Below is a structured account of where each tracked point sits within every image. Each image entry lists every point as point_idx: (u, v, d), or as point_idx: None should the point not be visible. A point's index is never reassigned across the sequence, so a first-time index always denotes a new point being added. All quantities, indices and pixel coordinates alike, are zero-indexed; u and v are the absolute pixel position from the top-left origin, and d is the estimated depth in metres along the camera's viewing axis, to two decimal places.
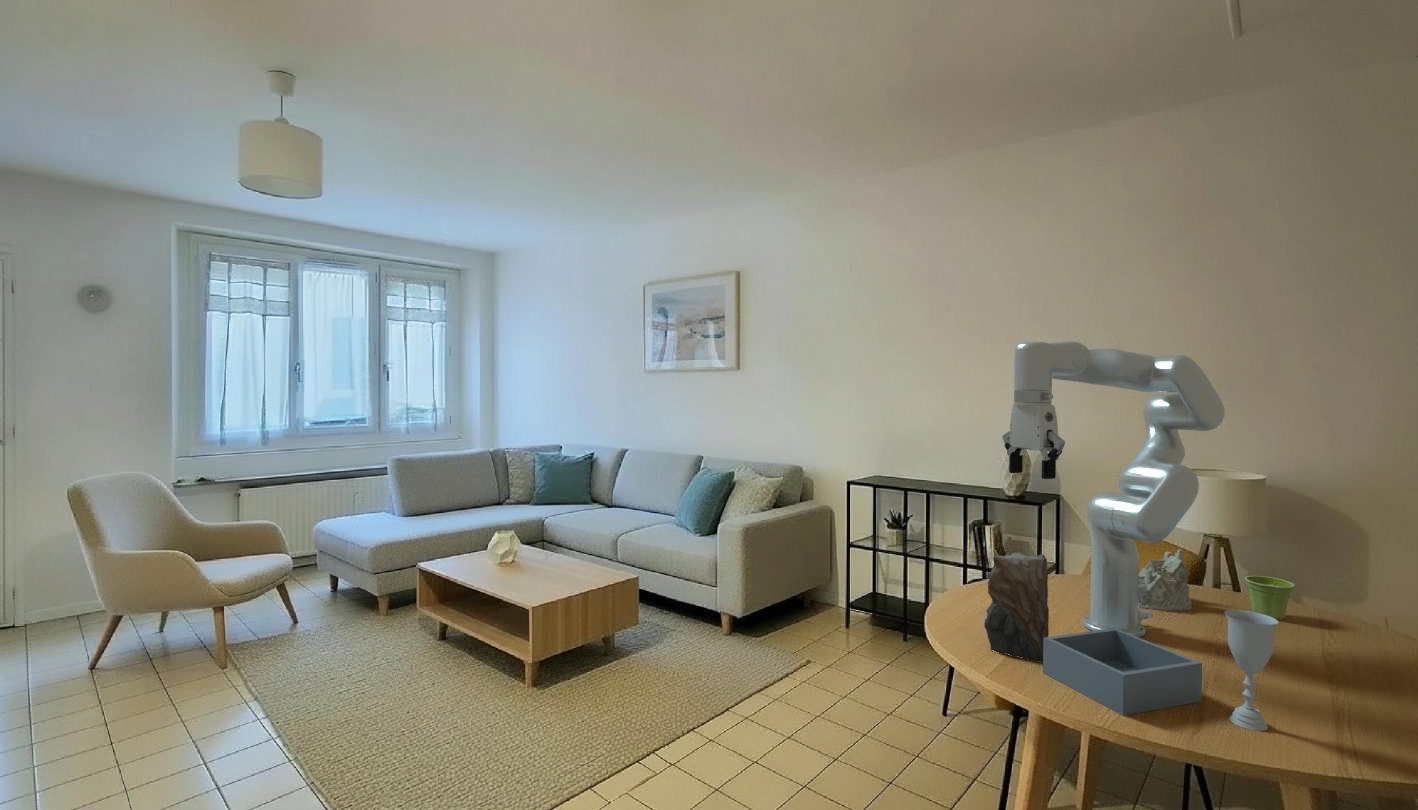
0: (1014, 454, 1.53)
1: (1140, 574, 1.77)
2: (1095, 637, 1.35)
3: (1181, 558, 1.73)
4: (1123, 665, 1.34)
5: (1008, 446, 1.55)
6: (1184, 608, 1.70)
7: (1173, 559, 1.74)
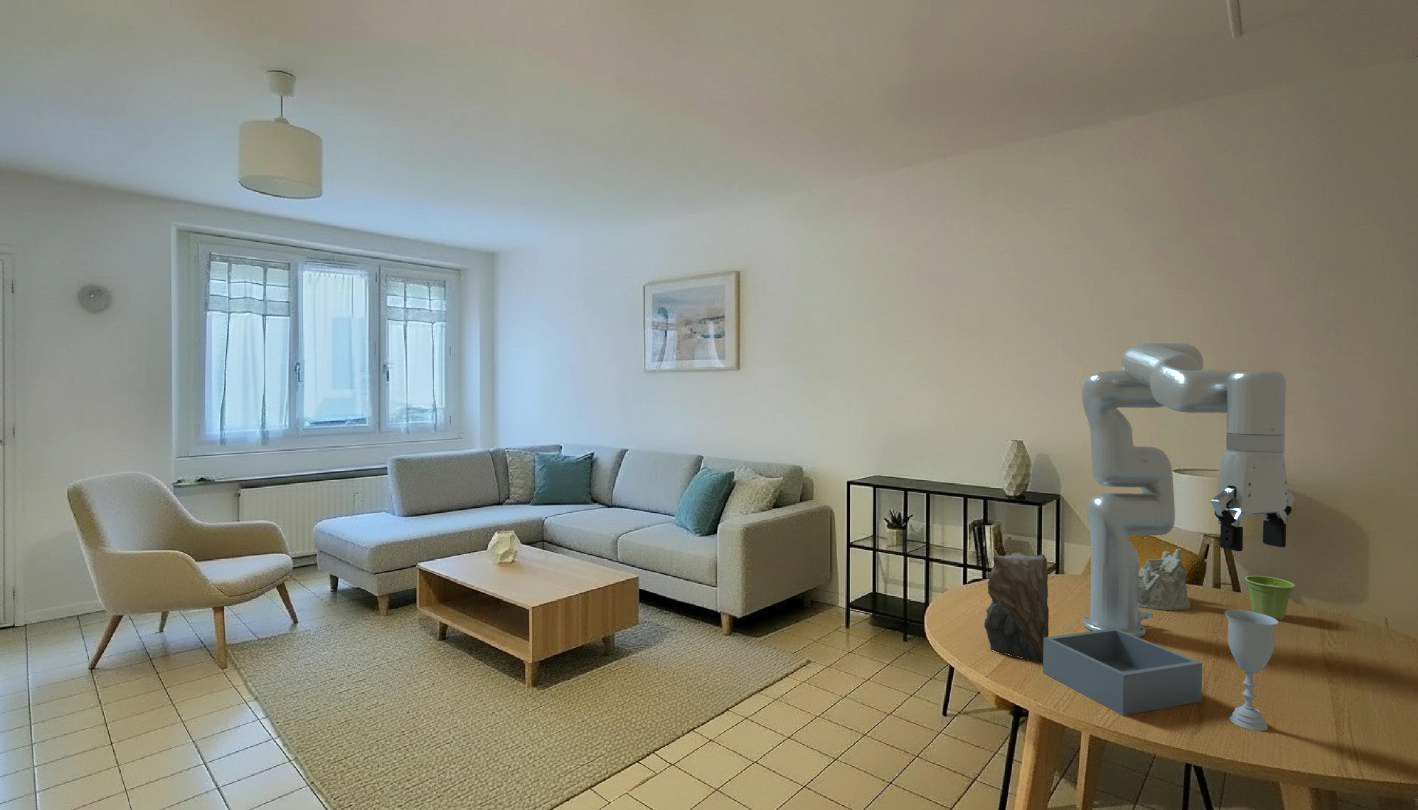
0: None
1: None
2: (1095, 637, 1.35)
3: (1179, 557, 1.73)
4: (1123, 665, 1.34)
5: (1229, 514, 1.09)
6: (1182, 607, 1.70)
7: (1171, 558, 1.75)
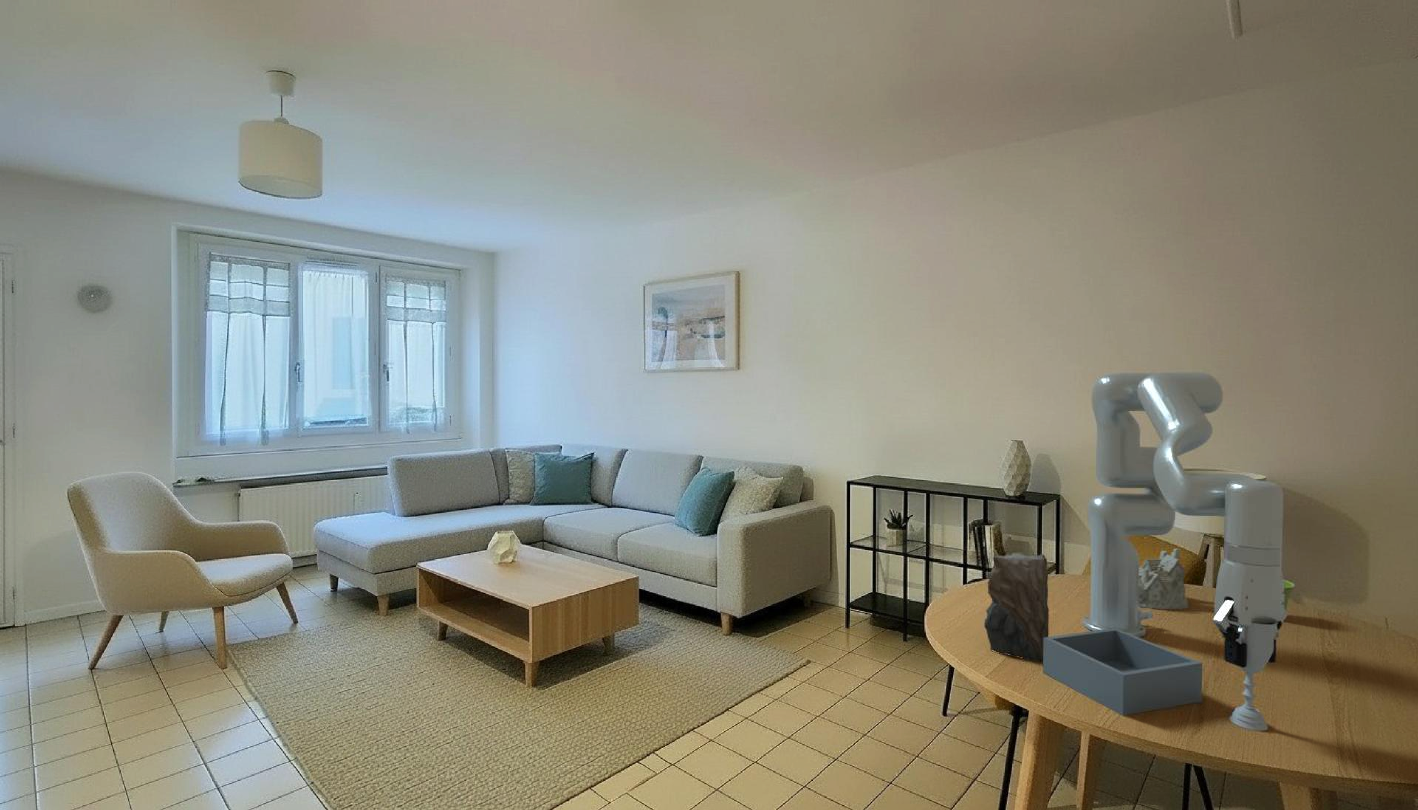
0: None
1: None
2: (1095, 637, 1.35)
3: (1177, 557, 1.74)
4: (1123, 665, 1.34)
5: (1234, 630, 1.10)
6: (1180, 607, 1.71)
7: (1169, 558, 1.75)
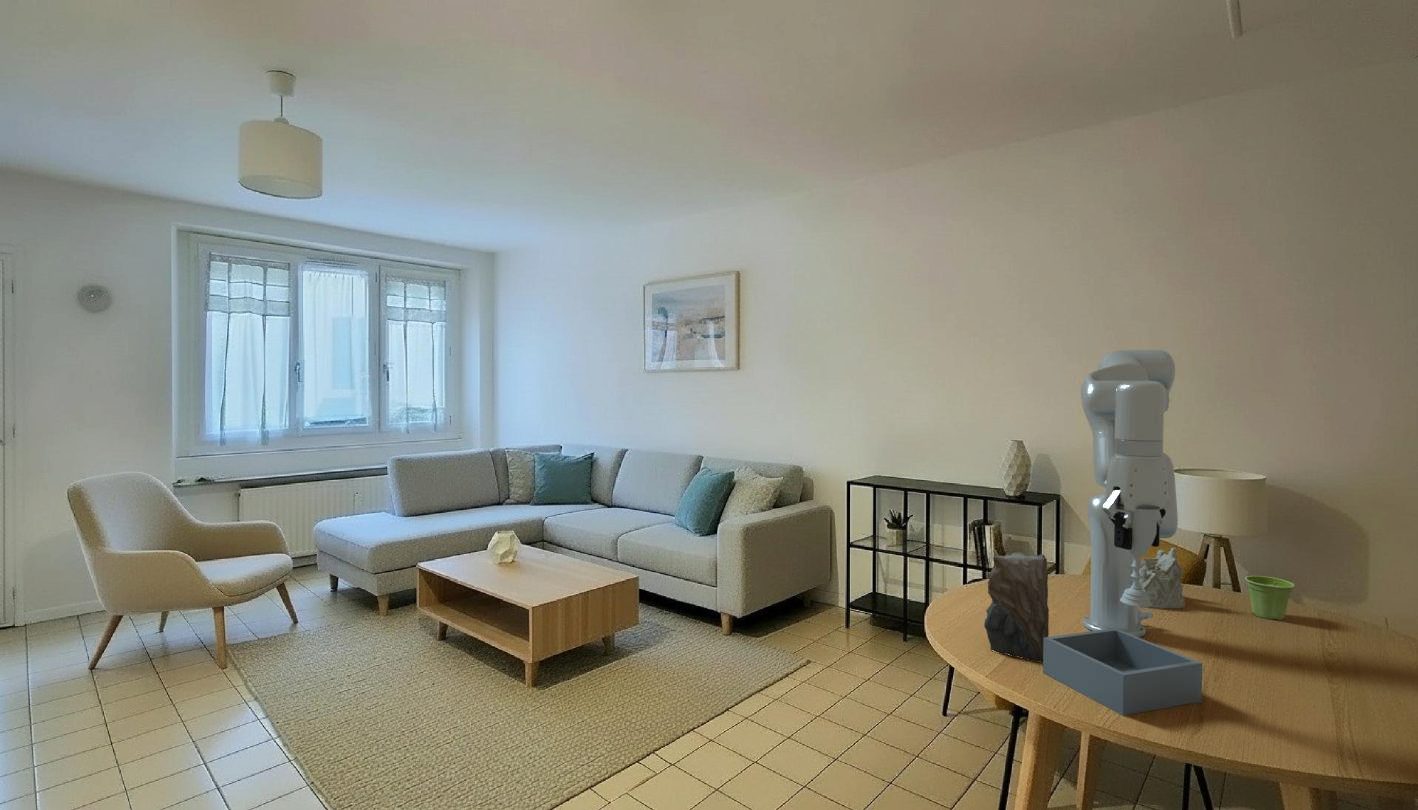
0: None
1: None
2: (1095, 637, 1.35)
3: (1175, 556, 1.74)
4: (1123, 665, 1.34)
5: (1121, 516, 1.22)
6: (1178, 606, 1.72)
7: (1167, 557, 1.76)
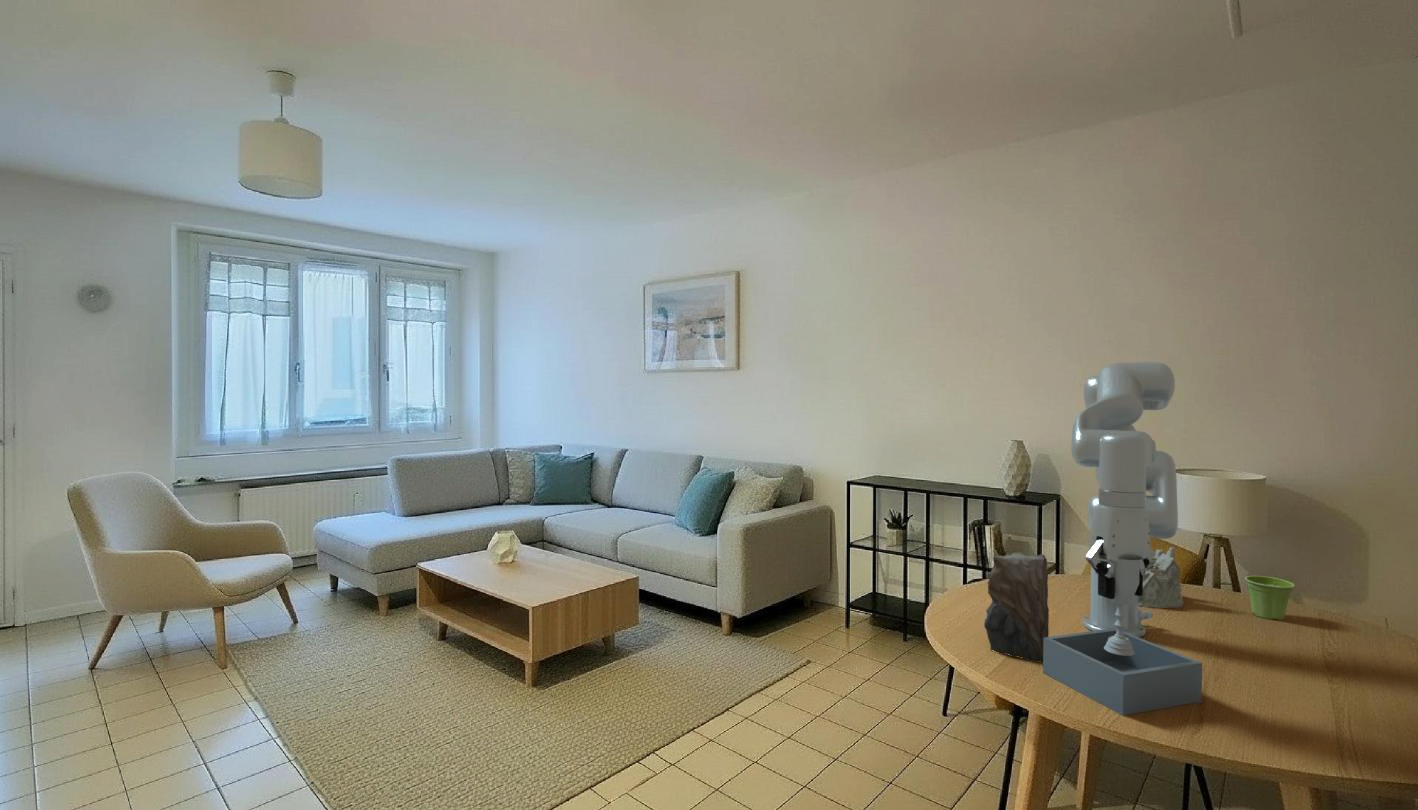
0: None
1: None
2: (1095, 637, 1.35)
3: (1173, 556, 1.75)
4: (1123, 665, 1.34)
5: (1103, 565, 1.24)
6: (1176, 605, 1.72)
7: (1165, 557, 1.76)
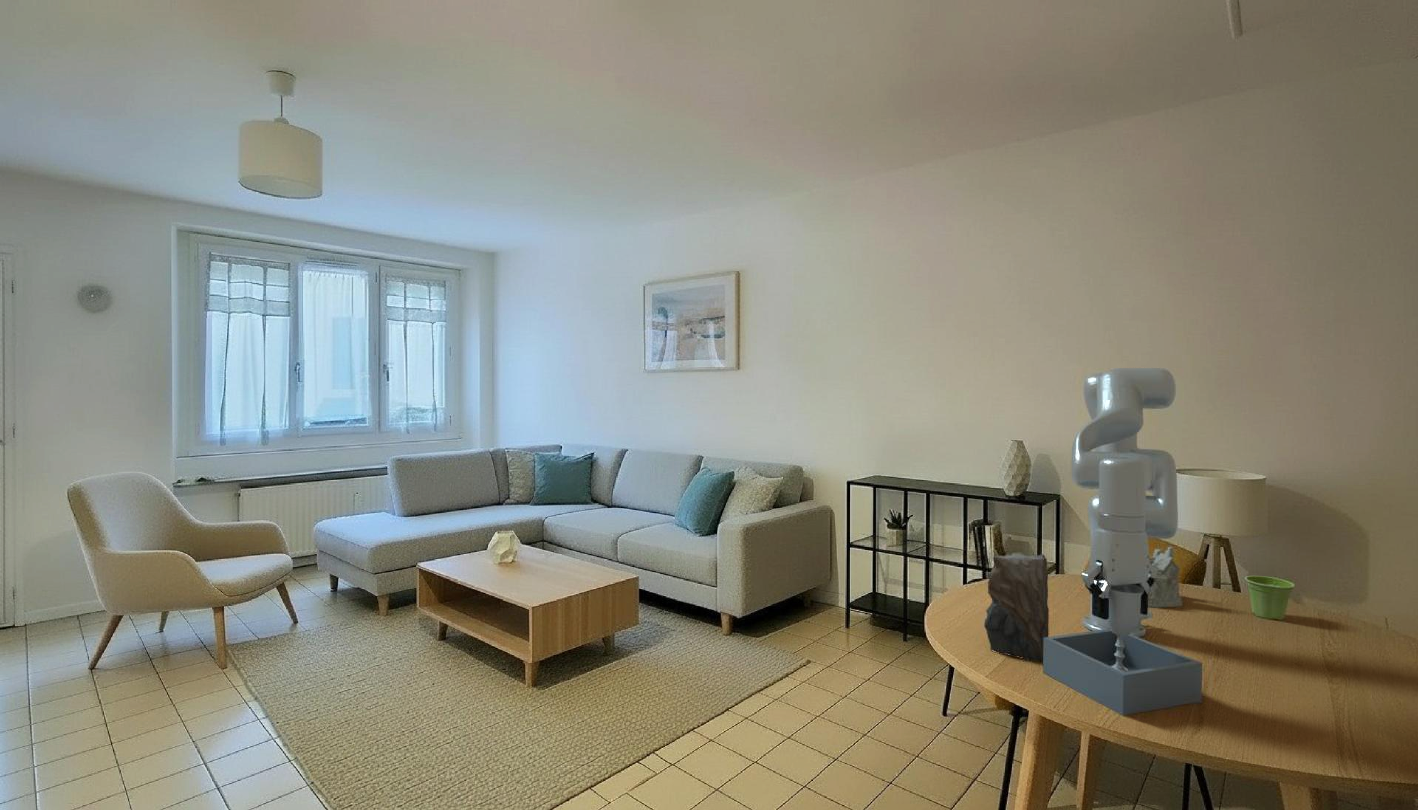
0: None
1: None
2: (1095, 637, 1.35)
3: (1171, 555, 1.75)
4: (1123, 665, 1.34)
5: (1097, 587, 1.24)
6: (1175, 605, 1.72)
7: (1163, 556, 1.77)
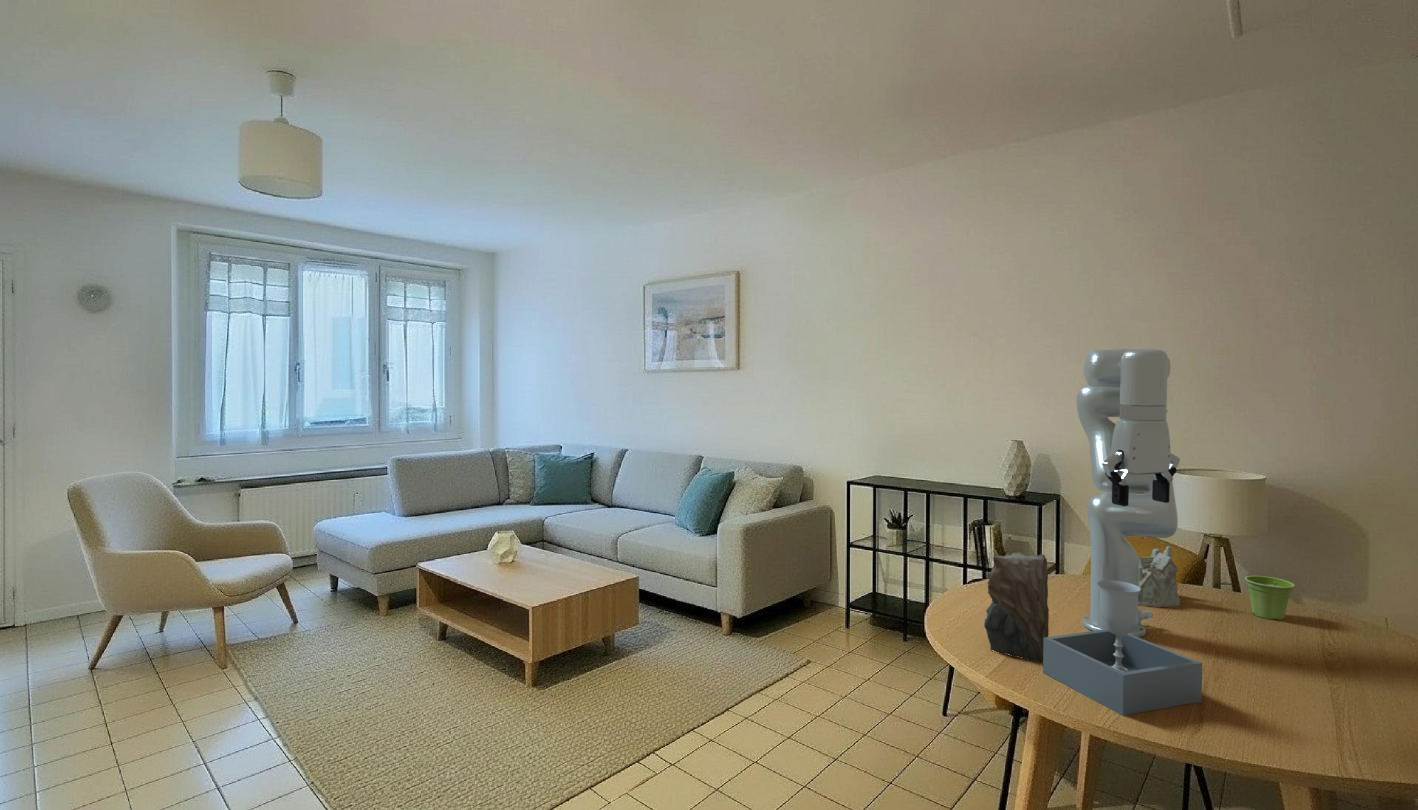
0: None
1: None
2: (1095, 637, 1.35)
3: (1170, 555, 1.76)
4: (1123, 665, 1.34)
5: (1117, 475, 1.27)
6: (1173, 604, 1.73)
7: (1162, 556, 1.77)
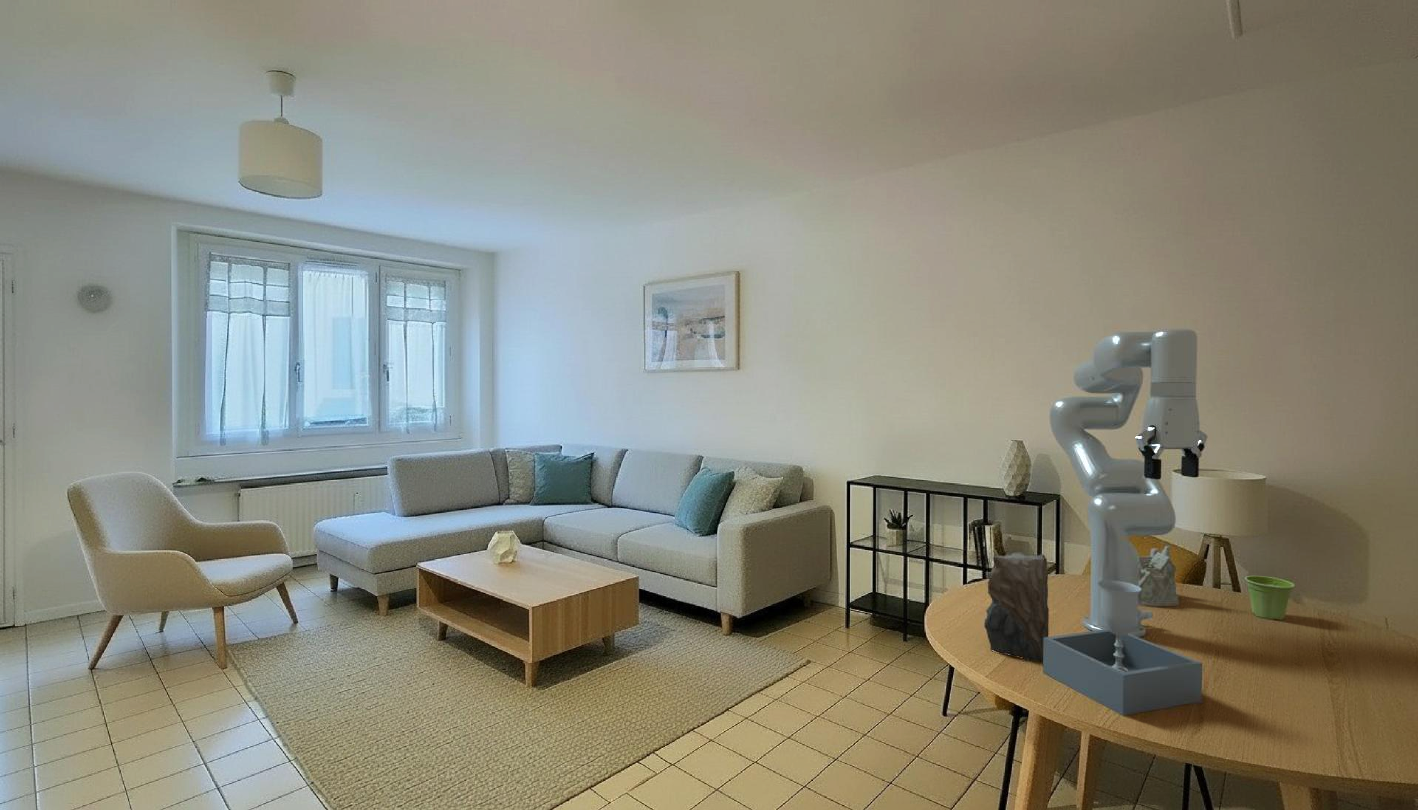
0: None
1: None
2: (1095, 637, 1.35)
3: (1168, 554, 1.76)
4: (1123, 665, 1.34)
5: (1150, 449, 1.31)
6: (1172, 603, 1.73)
7: (1160, 556, 1.78)
